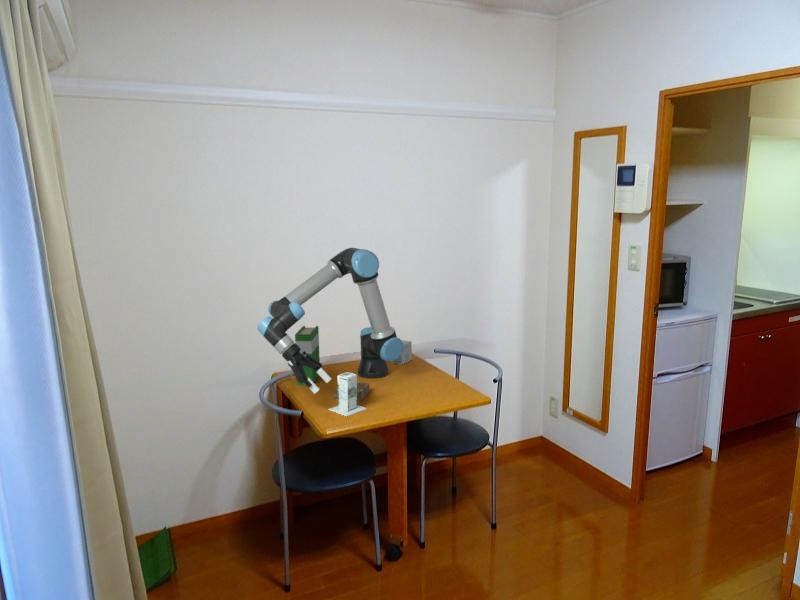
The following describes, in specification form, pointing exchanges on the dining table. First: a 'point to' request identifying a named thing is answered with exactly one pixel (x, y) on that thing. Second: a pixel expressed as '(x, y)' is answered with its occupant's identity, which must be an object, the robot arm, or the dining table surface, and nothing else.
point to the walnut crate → (361, 391)
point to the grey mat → (348, 413)
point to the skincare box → (405, 353)
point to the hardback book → (309, 348)
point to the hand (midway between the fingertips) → (323, 386)
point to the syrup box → (347, 391)
